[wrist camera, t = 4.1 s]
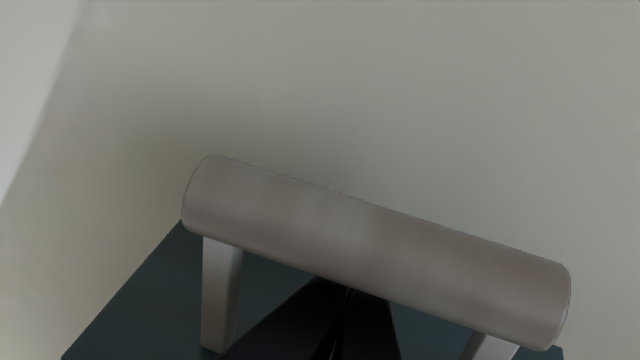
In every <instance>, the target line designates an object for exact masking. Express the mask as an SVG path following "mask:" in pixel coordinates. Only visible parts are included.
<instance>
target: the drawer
mask: <svg viewBox="0 0 640 360" xmlns="http://www.w3.org/2000/svg"><path fill="white" fill-rule="evenodd" d="M181 216H182V218H181V219H180V221H179V222H178V223H177V224H176V225H175V226H174V227H173V229H172V230H171V231H170V232H169V233H168V234H167V236H166V237H165V238H164V239H163V240H162V241H161V242H160V244H159V245H158V246H157V247H156V248H155V249H154V251H153V252H152V253H151V254H150V255H149V256H148V257H147V259H146V260H145V261H144V262H143V263H142V264H141V266H140V267H139V268H138V269H137V270H136V271H135V272H134V274H133V275H132V276H131V277H130V278H129V279H128V281H127V282H126V283H125V284H124V285H123V286H122V287H121V289H120V290H119V291H118V292H117V293H116V294H115V296H114V297H113V298H112V299H111V300H110V301H109V302H108V304H107V305H106V306H105V307H104V308H103V309H102V311H101V312H100V313H99V314H98V315H97V316H96V317H95V319H94V320H93V321H92V322H91V323H90V324H89V326H88V327H87V328H86V329H85V330H84V331H83V332H82V334H81V335H80V336H79V337H78V338H77V339H76V341H75V342H74V343H73V344H72V345H71V346H70V347H69V349H68V350H67V351H66V352H65V353H64V354H63V356H62V357H61V360H213V359H215V358H216V357H217V356H218V355H219V354H221V353H222V352H224V353H225V350H226V349H227V348H228V347H229V346H230V345H232V344H233V343H234V342H235V341H236V340H238V339H239V338H240V337H241V336H242V335H244V334H245V333H246V332H247V331H248V330H249V329H251V328H252V327H253V326H254V325H255V324H257V323H258V322H259V321H260V320H261V319H263V318H264V317H265V316H266V315H267V314H269V313H270V312H271V311H272V310H273V309H274V308H276V307H277V306H278V305H279V304H280V303H282V302H283V301H284V300H285V299H286V298H288V297H289V296H290V295H291V294H292V293H294V292H295V291H296V290H297V289H298V288H299V287H301V286H302V285H303V284H304V283H305V282H307V281H308V280H309V279H310V278H311V277H313V276H314V275H316V276H319V277H322V278H325V279H328V280H331V281H334V282H337V283H340V284H342V285H345V286H348V287H351V288H354V289H357V290H360V291H363V292H366V293H368V294H371V295H374V296H377V297H380V298H383V299H386V300H389V301H390V302H391V307H392V311H393V316H394V321H395V326H396V331H397V336H398V340H399V345H400V350H401V355H402V360H564V358H563V349H562V348H561V347H558V346H555V345H552V344H553V343H554V342H555V340H556V339H557V337H558V335H559V333H560V331H561V329H562V327H563V324H564V322H565V319H566V316H567V312H568V308H569V303H570V295H571V279H570V274H569V271H568V270H567V268H566V267H565V266H563V265H562V264H560V263H558V262H554V261H551V260H548V259H545V258H542V257H539V256H536V255H532V254H529V253H526V252H523V251H520V250H517V249H513V248H510V247H507V246H504V245H501V244H498V243H495V242H491V241H488V240H485V239H482V238H479V237H476V236H473V235H469V234H466V233H463V232H460V231H457V230H454V229H450V228H447V227H444V226H441V225H438V224H435V223H432V222H428V221H425V220H422V219H419V218H416V217H413V216H410V215H406V214H403V213H400V212H397V211H394V210H391V209H388V208H384V207H381V206H378V205H375V204H372V203H369V202H365V201H362V200H359V199H356V198H353V197H350V196H347V195H343V194H340V193H337V192H334V191H331V190H328V189H325V188H321V187H318V186H315V185H312V184H309V183H306V182H302V181H299V180H296V179H293V178H290V177H287V176H284V175H280V174H277V173H274V172H271V171H268V170H265V169H262V168H258V167H255V166H252V165H249V164H246V163H243V162H240V161H236V160H233V159H230V158H227V157H224V156H221V155H217V154H213V155H208V156H207V157H205V158H204V159H203V160H202V161H201V162H200V163H199V165H198V166H197V168H196V169H195V171H194V173H193V174H192V176H191V178H190V181H189V183H188V186H187V188H186V191H185V195H184V199H183V204H182V213H181ZM334 347H335V346H334ZM333 350H334V349H333ZM332 354H333V352H332ZM331 357H332V355H331ZM330 360H331V358H330Z"/></svg>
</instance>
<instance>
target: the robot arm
mask: <svg viewBox="0 0 640 360" xmlns="http://www.w3.org/2000/svg"><path fill="white" fill-rule="evenodd" d="M334 346H335V347H334ZM333 349H334V350H333ZM332 352H333V354H332ZM331 355H332V357H331ZM330 358H331V360H402V355H401V350H400V345H399V340H398V336H397V331H396V326H395V321H394V316H393V311H392V307H391V302H390V301H389V300H386V299H383V298H380V297H377V296H374V295H371V294H368V293H366V292H363V291H360V290H357V289H354V288H351V287H348V286H345V285H342V284H340V283H337V282H334V281H331V280H328V279H325V278H322V277H319V276H316V275H314V276H313V277H311V278H310V279H309V280H308V281H307V282H305V283H304V284H303V285H302V286H301V287H299V288H298V289H297V290H296V291H295V292H294V293H292V294H291V295H290V296H289V297H288V298H286V299H285V300H284V301H283V302H282V303H280V304H279V305H278V306H277V307H276V308H274V309H273V310H272V311H271V312H270V313H269V314H267V315H266V316H265V317H264V318H263V319H261V320H260V321H259V322H258V323H257V324H255V325H254V326H253V327H252V328H251V329H249V330H248V331H247V332H246V333H245V334H244V335H242V336H241V337H240V338H239V339H238V340H236V341H235V342H234V343H233V344H232V345H230V346H229V347H228V348H227V349H226V350H225V353H224V352H222V353H221V354H219V355H218V356H217V357H216V358H215V359H213V360H330Z"/></svg>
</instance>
